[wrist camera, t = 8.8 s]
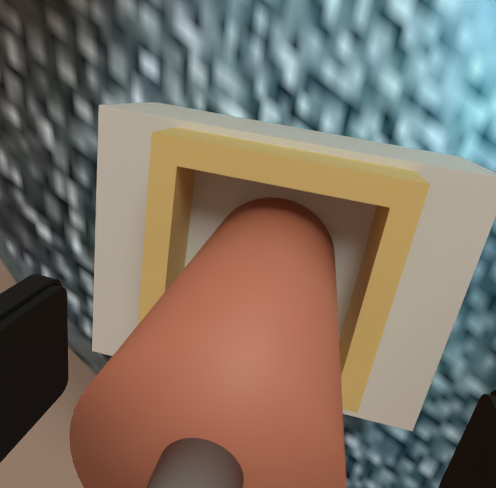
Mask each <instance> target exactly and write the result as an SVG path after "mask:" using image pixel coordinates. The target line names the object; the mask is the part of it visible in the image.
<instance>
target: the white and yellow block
mask: <svg viewBox="0 0 496 488" xmlns="http://www.w3.org/2000/svg"><path fill="white" fill-rule="evenodd" d="M267 197H270V198H283V199H287V200H291V201H294V202H296V203H299V204H301V205H303V206H304V207H306V208H308V209H309V210H310V211H312V212H313V213H314V214H315V215H316V216H317V217H318V218H319V219H320V220H321V221H322V222H323V224H324V225H325V226H326V228H327V230H328V232H329V234H330V236H331V238H332V242H333V245H334V252H335V268H336V288H337V308H338V328H339V348H340V368H341V388H342V408H343V414H346V415H350V416H354V417H358V418H362V419H366V420H370V421H374V422H378V423H382V424H386V425H390V426H394V427H398V428H402V429H406V430H410V431H413V429H414V426H415V424H416V421H417V418H418V416H419V413H420V411H421V408H422V405H423V403H424V400H425V398H426V395H427V393H428V390H429V387H430V385H431V382H432V380H433V377H434V374H435V372H436V369H437V367H438V364H439V361H440V359H441V356H442V354H443V351H444V349H445V346H446V343H447V341H448V338H449V336H450V333H451V330H452V328H453V325H454V323H455V320H456V318H457V315H458V312H459V310H460V307H461V305H462V302H463V299H464V297H465V294H466V292H467V289H468V287H469V284H470V281H471V279H472V276H473V274H474V271H475V268H476V266H477V263H478V261H479V258H480V256H481V253H482V250H483V248H484V245H485V243H486V240H487V237H488V235H489V232H490V230H491V227H492V224H493V222H494V219H495V217H496V173H494V172H492V171H490V170H488V169H486V168H484V167H482V166H479V165H477V164H475V163H473V162H471V161H469V160H467V159H464V158H462V157H459V156H453V155H448V154H442V153H436V152H431V151H425V150H420V149H414V148H408V147H403V146H397V145H392V144H386V143H380V142H375V141H369V140H364V139H358V138H352V137H347V136H341V135H336V134H330V133H324V132H319V131H313V130H308V129H302V128H296V127H291V126H285V125H280V124H274V123H268V122H263V121H257V120H252V119H246V118H240V117H235V116H229V115H224V114H218V113H212V112H207V111H201V110H196V109H190V108H184V107H179V106H173V105H168V104H162V103H156V102H150V103H129V104H108V105H99V121H98V157H97V193H96V230H95V266H94V302H93V338H92V351H95V352H99V353H102V354H106V355H110V356H113V355H114V354H115V353H116V351H117V350H118V349H119V348H120V346H121V345H122V344H123V343H124V342H125V340H126V339H127V338H128V337H129V335H130V334H131V333H132V332H133V331H134V329H135V328H136V327H137V326H138V324H139V323H140V322H141V321H142V320H143V318H144V317H145V316H146V315H147V313H148V312H149V311H150V310H151V309H152V307H153V306H154V305H155V304H156V302H157V301H158V300H159V299H160V298H161V296H162V295H163V294H164V293H165V291H166V290H167V289H168V288H169V287H170V285H171V284H172V283H173V282H174V280H175V279H176V278H177V277H178V276H179V274H180V273H181V272H182V271H183V269H184V268H185V267H186V266H187V265H188V263H189V262H190V261H191V260H192V258H193V257H194V256H195V255H196V253H197V252H198V251H199V250H200V249H201V247H202V246H203V245H204V244H205V242H206V241H207V240H208V239H209V238H210V236H211V235H212V234H213V233H214V231H215V230H216V229H217V228H218V227H219V225H220V224H221V223H222V222H223V220H224V219H225V218H226V217H227V216H228V215H229V214H230V213H231V212H232V211H233V210H235V209H236V208H237V207H239V206H241V205H242V204H244V203H247V202H249V201H252V200H255V199H259V198H267Z"/></svg>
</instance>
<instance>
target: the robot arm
mask: <svg viewBox="0 0 496 488" xmlns="http://www.w3.org/2000/svg"><path fill="white" fill-rule="evenodd" d="M67 382H68V331H67V292H66V289H65V288H63V287H62V285H61V283H60V281H59V280H57V279H53V278H49V277H45V276H41V275H37V274H33V275H30V276H28V277H27V278H25V279H24V280H22V281H20V282H19V283H17V284H16V285H14V286H13V287H11V288H9V289H7V290H6V291H5V292H3V293H1V294H0V462H1V461H2V460H3V459H4V458H5V457H6V456H7V454H8V453H9V452H10V451H11V450H12V449H13V448H14V447H15V446H16V444H17V443H18V442H19V441H20V440H21V439H22V438H23V436H25V435H26V433H27V432H28V431H29V430H30V429H31V428H32V427H33V426H34V425H35V423H36V422H37V421H38V420H39V419H40V418H41V417H42V416H43V415H44V413H45V412H46V411H47V410H48V409H49V408H50V407H51V405H52V404H53V403H54V402H55V401H56V400H57V399H58V398H59V397H60V396H61V394H62V393H63V391H64V390H65V388H66V385H67ZM439 488H496V390H494V391H492V392H491V394H490V395H488V394H483V395H482V396H481V398H480V399H479V402H478V404H477V406H476V408H475V410H474V412H473V414H472V416H471V419H470V421H469V423H468V425H467V427H466V429H465V431H464V434H463V436H462V438H461V440H460V442H459V444H458V446H457V448H456V451H455V453H454V455H453V457H452V459H451V461H450V463H449V466H448V468H447V470H446V472H445V474H444V476H443V478H442V481H441V483H440V486H439Z"/></svg>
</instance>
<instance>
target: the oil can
mask: <svg viewBox="0 0 496 488" xmlns="http://www.w3.org/2000/svg"><path fill="white" fill-rule="evenodd" d="M70 427H71V428H70V448H71V454H72V458H73V463H74V466H75V468H76V471H77V474H78V476H79V478H80V480H81V482H82V484H83V486H84V488H346V468H345V448H344V428H343V408H342V388H341V368H340V348H339V328H338V308H337V288H336V268H335V252H334V245H333V242H332V238H331V236H330V234H329V232H328V230H327V228H326V226H325V225H324V224H323V222H322V221H321V220H320V219H319V218H318V217H317V216H316V215H315V214H314V213H313V212H312V211H310V210H309V209H308V208H306V207H304V206H303V205H301V204H299V203H296V202H294V201H291V200H287V199H283V198H270V197H267V198H259V199H255V200H252V201H249V202H247V203H244V204H242V205H241V206H239V207H237V208H236V209H235V210H233V211H232V212H231V213H230V214H229V215H228V216H227V217H226V218H225V219H224V220H223V222H222V223H221V224H220V225H219V227H218V228H217V229H216V230H215V231H214V233H213V234H212V235H211V236H210V238H209V239H208V240H207V241H206V242H205V244H204V245H203V246H202V247H201V249H200V250H199V251H198V252H197V253H196V255H195V256H194V257H193V258H192V260H191V261H190V262H189V263H188V265H187V266H186V267H185V268H184V269H183V271H182V272H181V273H180V274H179V276H178V277H177V278H176V279H175V280H174V282H173V283H172V284H171V285H170V287H169V288H168V289H167V290H166V291H165V293H164V294H163V295H162V296H161V298H160V299H159V300H158V301H157V302H156V304H155V305H154V306H153V307H152V309H151V310H150V311H149V312H148V313H147V315H146V316H145V317H144V318H143V320H142V321H141V322H140V323H139V324H138V326H137V327H136V328H135V329H134V331H133V332H132V333H131V334H130V335H129V337H128V338H127V339H126V340H125V342H124V343H123V344H122V345H121V346H120V348H119V349H118V350H117V351H116V353H115V354H114V355H113V356H112V357H111V359H110V360H109V361H108V362H107V364H106V365H105V366H104V367H103V368H102V370H101V371H100V372H99V373H98V375H97V376H96V377H95V378H94V379H93V381H92V382H91V383H90V384H89V386H88V387H87V389H86V390H85V391H84V393H83V394H82V395H81V397H80V399H79V401H78V403H77V405H76V407H75V409H74V413H73V417H72V420H71V426H70Z"/></svg>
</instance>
